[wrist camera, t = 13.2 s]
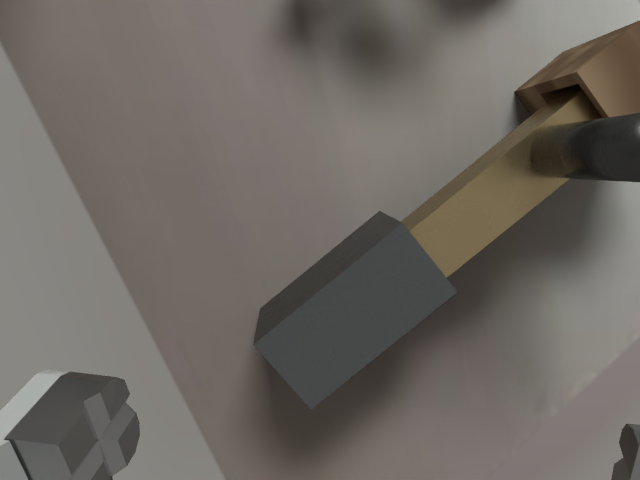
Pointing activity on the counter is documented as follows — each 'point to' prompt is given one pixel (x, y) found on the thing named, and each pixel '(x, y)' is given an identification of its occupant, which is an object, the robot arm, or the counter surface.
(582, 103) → the tan and black piece
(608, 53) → the socket
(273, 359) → the sleeve
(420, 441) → the counter surface
